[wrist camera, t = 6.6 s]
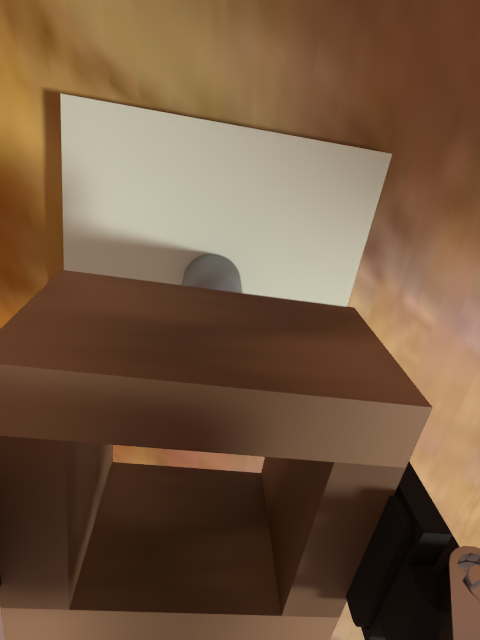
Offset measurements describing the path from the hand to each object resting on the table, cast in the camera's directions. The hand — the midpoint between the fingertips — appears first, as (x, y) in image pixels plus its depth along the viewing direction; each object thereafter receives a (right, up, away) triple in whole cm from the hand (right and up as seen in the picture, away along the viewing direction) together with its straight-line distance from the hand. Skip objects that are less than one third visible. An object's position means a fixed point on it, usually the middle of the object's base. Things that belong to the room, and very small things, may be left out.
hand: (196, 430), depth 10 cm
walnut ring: (0, 0, +1) cm, 1 cm away
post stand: (0, +5, +11) cm, 12 cm away
